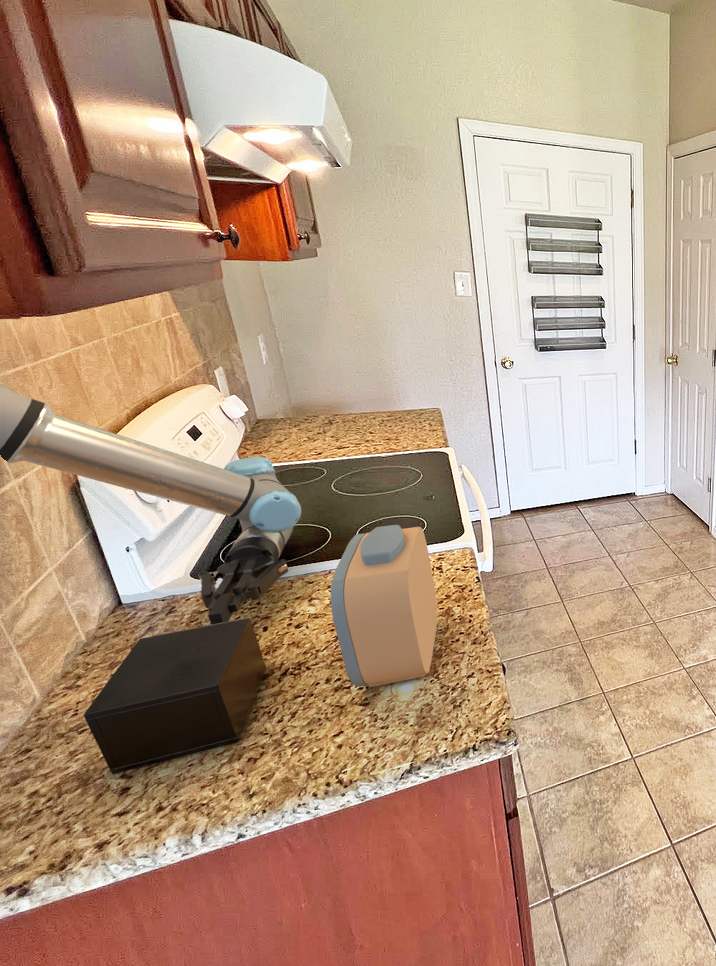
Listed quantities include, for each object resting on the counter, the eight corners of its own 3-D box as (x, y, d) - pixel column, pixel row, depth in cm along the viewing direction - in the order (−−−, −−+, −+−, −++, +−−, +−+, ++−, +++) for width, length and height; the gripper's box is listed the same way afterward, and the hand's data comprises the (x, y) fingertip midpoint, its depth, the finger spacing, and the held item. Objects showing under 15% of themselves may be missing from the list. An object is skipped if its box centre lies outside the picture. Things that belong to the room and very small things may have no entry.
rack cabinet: (161, 692, 84) (139, 638, 80) (266, 669, 89) (250, 617, 85) (112, 775, 71) (82, 714, 67) (238, 742, 76) (217, 684, 72)
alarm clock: (380, 626, 99) (354, 515, 92) (440, 616, 103) (420, 508, 95) (355, 710, 82) (320, 580, 74) (428, 694, 85) (402, 568, 77)
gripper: (301, 564, 113) (273, 631, 93) (218, 577, 108) (170, 651, 88) (291, 530, 110) (261, 592, 91) (206, 542, 105) (154, 611, 85)
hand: (216, 621), depth 89 cm, fingers closed
